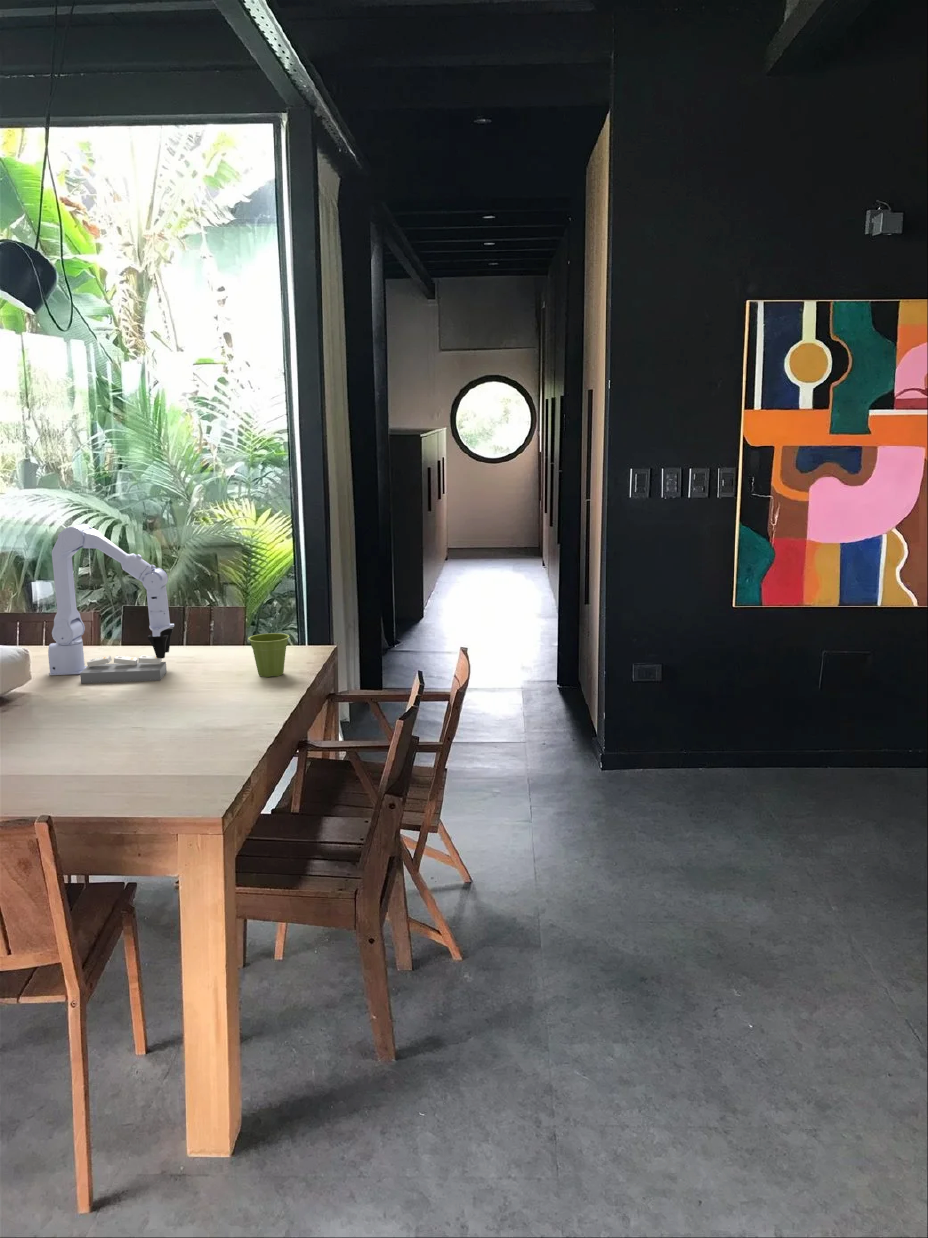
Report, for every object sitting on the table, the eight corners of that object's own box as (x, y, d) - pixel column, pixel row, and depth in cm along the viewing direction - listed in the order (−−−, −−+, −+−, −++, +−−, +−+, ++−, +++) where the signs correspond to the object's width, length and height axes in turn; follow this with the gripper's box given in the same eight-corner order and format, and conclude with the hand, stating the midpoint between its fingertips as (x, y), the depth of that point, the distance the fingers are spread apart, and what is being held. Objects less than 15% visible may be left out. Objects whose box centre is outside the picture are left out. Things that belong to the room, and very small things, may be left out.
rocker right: (138, 662, 282) (138, 657, 282) (140, 659, 286) (140, 655, 286) (159, 663, 283) (159, 658, 283) (161, 660, 287) (161, 655, 286)
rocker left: (87, 667, 281) (86, 662, 281) (90, 664, 284) (89, 659, 284) (108, 663, 281) (107, 658, 281) (111, 660, 285) (110, 655, 284)
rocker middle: (113, 662, 282) (114, 658, 281) (116, 660, 285) (116, 655, 285) (135, 665, 282) (135, 660, 282) (137, 662, 286) (137, 657, 286)
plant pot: (295, 669, 290) (294, 632, 288) (284, 680, 278) (283, 641, 276) (257, 669, 291) (255, 632, 289) (244, 679, 280) (242, 641, 277)
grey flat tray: (81, 683, 276) (80, 672, 276) (89, 674, 286) (88, 664, 285) (160, 680, 279) (159, 669, 278) (166, 671, 289) (165, 661, 288)
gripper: (168, 614, 279) (172, 660, 282) (176, 605, 293) (180, 648, 296) (143, 615, 278) (147, 661, 281) (152, 606, 292) (156, 650, 295)
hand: (163, 655), depth 288 cm, fingers open, 7 cm apart
